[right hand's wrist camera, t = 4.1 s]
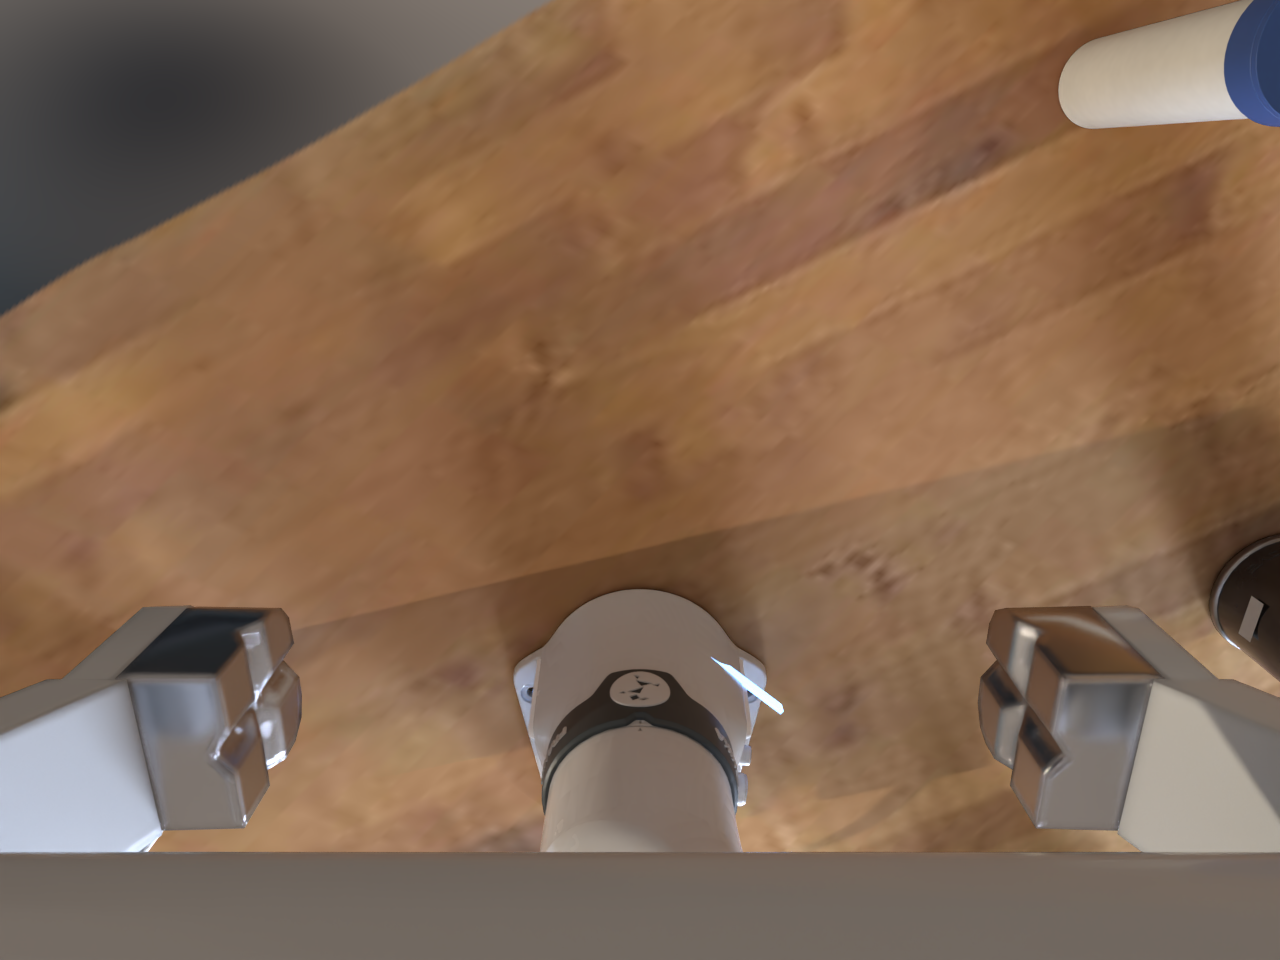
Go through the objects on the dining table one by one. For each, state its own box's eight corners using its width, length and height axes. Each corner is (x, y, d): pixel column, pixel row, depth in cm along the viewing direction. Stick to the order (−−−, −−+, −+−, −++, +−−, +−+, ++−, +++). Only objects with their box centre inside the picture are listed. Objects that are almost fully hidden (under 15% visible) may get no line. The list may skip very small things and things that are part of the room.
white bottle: (1159, 56, 51) (1415, 6, 35) (1114, 141, 53) (1337, 133, 36) (1085, 23, 51) (1308, -46, 34) (1042, 110, 52) (1234, 86, 36)
